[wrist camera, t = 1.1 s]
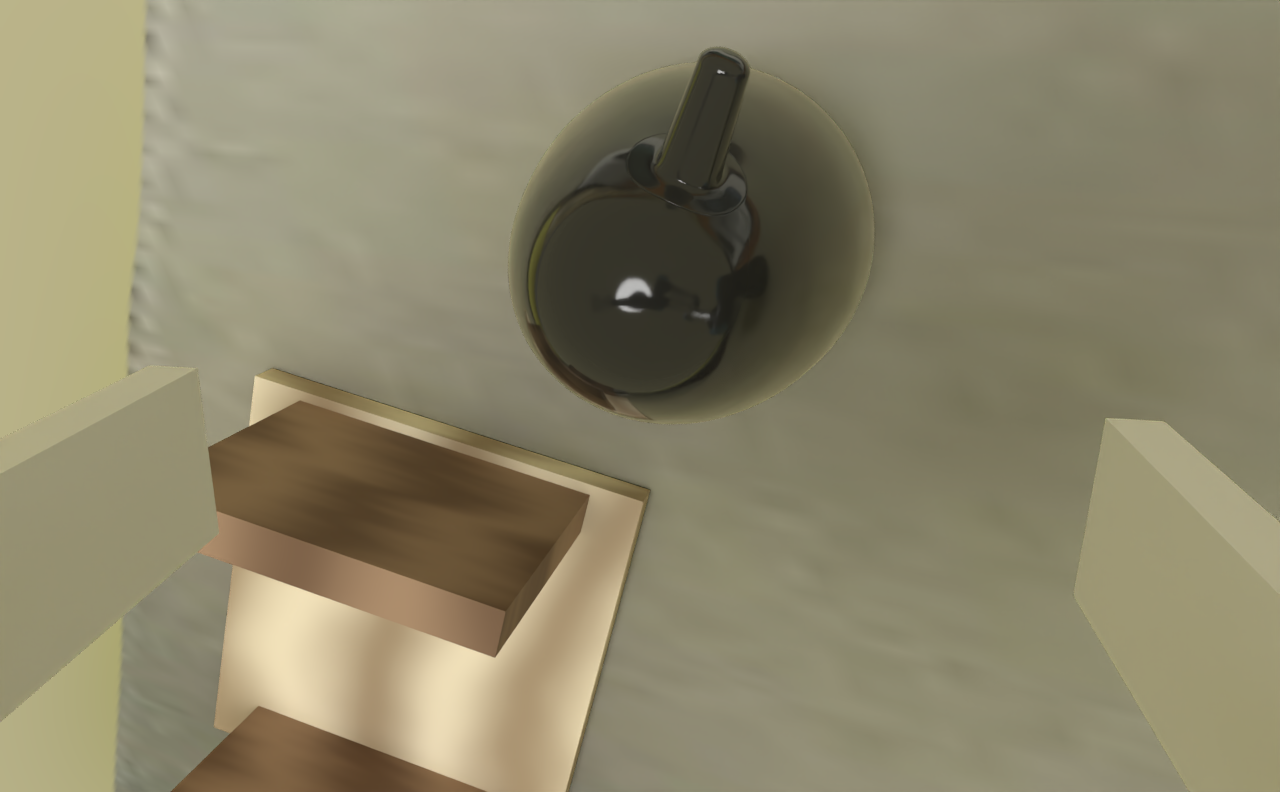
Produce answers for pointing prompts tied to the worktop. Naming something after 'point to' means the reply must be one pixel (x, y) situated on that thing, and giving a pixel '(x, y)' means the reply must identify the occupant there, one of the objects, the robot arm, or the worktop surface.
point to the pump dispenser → (691, 243)
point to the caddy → (405, 601)
